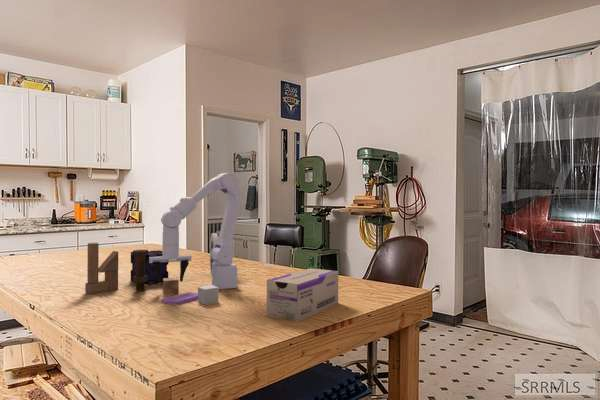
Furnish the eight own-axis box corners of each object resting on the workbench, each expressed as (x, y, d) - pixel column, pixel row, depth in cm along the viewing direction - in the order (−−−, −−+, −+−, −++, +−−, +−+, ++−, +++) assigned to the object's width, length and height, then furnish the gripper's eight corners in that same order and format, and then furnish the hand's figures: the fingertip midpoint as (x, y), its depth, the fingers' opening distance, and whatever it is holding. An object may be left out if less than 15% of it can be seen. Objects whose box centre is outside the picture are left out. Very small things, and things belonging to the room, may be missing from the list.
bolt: (142, 292, 150) (142, 251, 150) (129, 292, 151) (129, 251, 151) (150, 289, 156) (151, 249, 156) (138, 288, 157) (138, 249, 157)
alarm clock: (209, 271, 194) (209, 229, 194) (225, 271, 196) (226, 229, 196) (214, 280, 174) (214, 233, 174) (232, 279, 176) (232, 232, 176)
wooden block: (118, 289, 156) (118, 241, 156) (90, 294, 147) (90, 243, 147) (113, 288, 158) (113, 240, 158) (84, 293, 150) (85, 243, 150)
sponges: (161, 304, 136) (161, 298, 136) (190, 296, 147) (190, 291, 147) (176, 307, 133) (176, 301, 133) (204, 299, 144) (204, 293, 144)
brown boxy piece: (176, 290, 154) (177, 277, 154) (178, 293, 149) (178, 279, 149) (162, 292, 152) (162, 278, 152) (164, 295, 147) (164, 280, 147)
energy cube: (168, 282, 169) (168, 253, 169) (137, 286, 162) (137, 255, 162) (160, 278, 179) (160, 250, 179) (130, 281, 172) (130, 252, 172)
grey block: (211, 299, 141) (211, 285, 141) (218, 302, 137) (218, 287, 137) (197, 302, 138) (197, 286, 138) (204, 305, 134) (204, 289, 134)
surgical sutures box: (310, 299, 142) (310, 268, 142) (338, 303, 137) (338, 271, 137) (266, 316, 121) (266, 280, 121) (297, 322, 115) (297, 284, 115)
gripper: (150, 246, 144) (149, 285, 144) (192, 244, 150) (192, 282, 150) (149, 244, 151) (148, 281, 151) (190, 242, 156) (189, 279, 156)
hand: (170, 281), depth 151 cm, fingers open, 7 cm apart
